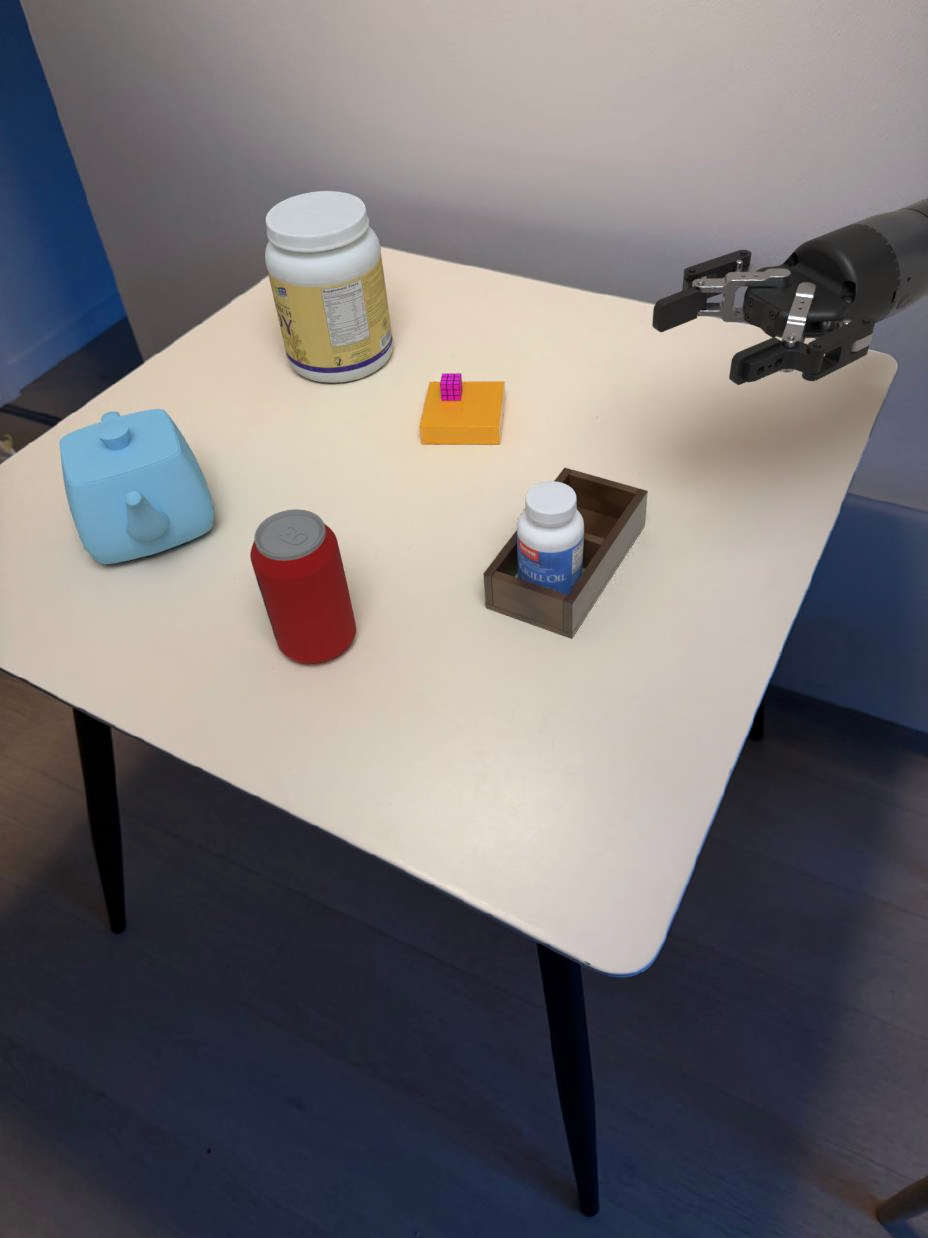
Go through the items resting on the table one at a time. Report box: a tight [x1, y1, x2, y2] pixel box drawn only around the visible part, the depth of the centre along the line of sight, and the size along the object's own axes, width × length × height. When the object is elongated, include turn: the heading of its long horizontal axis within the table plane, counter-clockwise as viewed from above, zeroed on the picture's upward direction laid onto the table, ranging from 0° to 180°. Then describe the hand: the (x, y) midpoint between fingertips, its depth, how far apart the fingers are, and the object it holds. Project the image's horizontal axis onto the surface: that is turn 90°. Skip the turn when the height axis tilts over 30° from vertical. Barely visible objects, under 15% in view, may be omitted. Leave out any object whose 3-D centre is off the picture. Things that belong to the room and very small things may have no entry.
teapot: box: [59, 408, 215, 565], centre depth 90 cm, size 12×18×12 cm
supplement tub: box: [264, 190, 394, 384], centre depth 107 cm, size 12×12×17 cm
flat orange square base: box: [419, 372, 507, 445], centre depth 101 cm, size 8×8×4 cm
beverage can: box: [249, 508, 357, 664], centre depth 79 cm, size 7×7×12 cm
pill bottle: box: [516, 480, 584, 595], centre depth 81 cm, size 6×5×10 cm
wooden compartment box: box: [482, 467, 649, 639], centre depth 85 cm, size 8×15×4 cm, turn 150°
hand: (693, 343), depth 70 cm, fingers open, 8 cm apart
